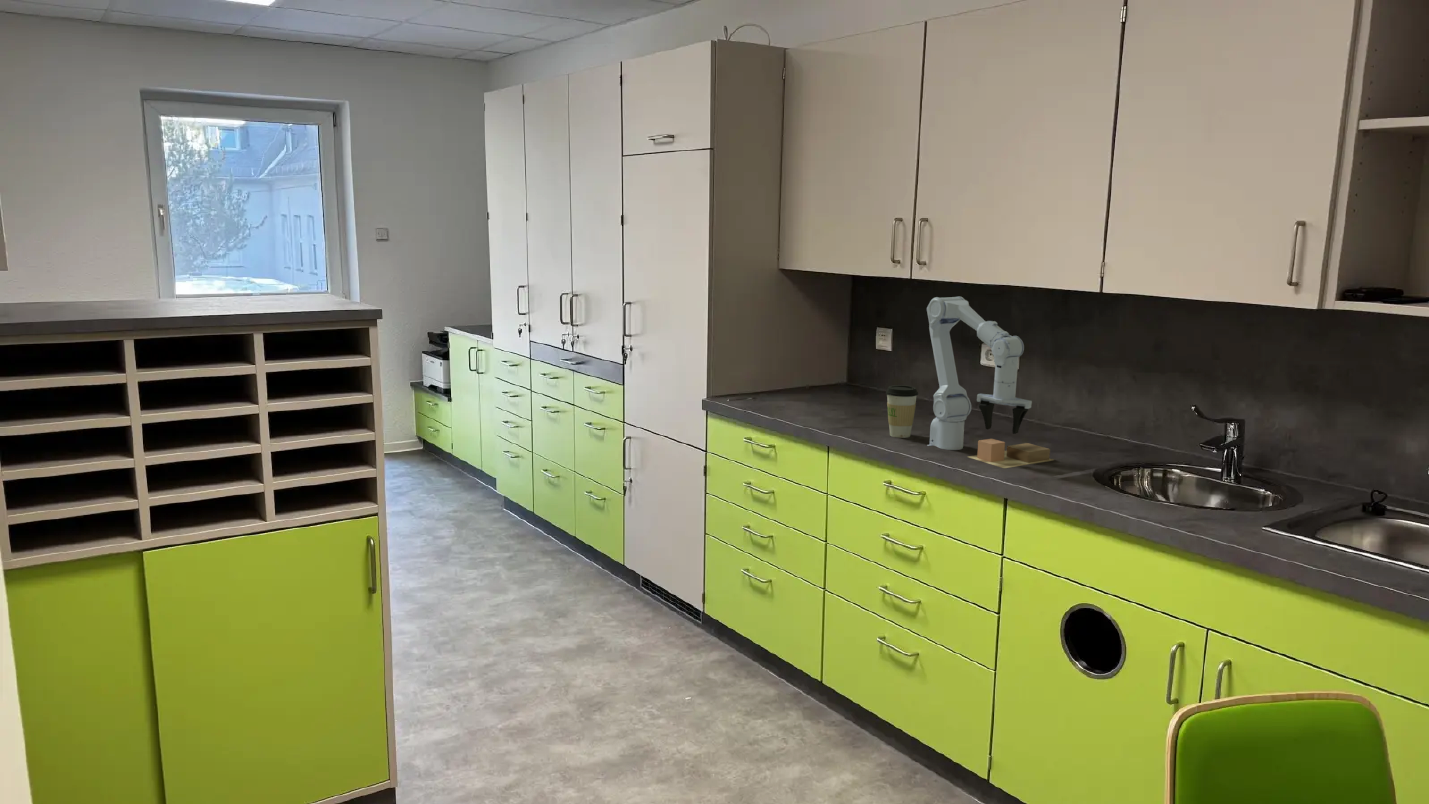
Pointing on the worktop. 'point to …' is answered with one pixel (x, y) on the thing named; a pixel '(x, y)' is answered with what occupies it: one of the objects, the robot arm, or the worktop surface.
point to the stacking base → (1006, 461)
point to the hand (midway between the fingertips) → (1001, 430)
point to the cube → (991, 450)
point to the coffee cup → (901, 409)
